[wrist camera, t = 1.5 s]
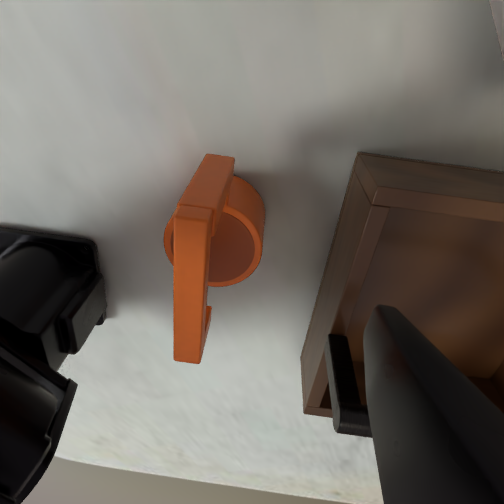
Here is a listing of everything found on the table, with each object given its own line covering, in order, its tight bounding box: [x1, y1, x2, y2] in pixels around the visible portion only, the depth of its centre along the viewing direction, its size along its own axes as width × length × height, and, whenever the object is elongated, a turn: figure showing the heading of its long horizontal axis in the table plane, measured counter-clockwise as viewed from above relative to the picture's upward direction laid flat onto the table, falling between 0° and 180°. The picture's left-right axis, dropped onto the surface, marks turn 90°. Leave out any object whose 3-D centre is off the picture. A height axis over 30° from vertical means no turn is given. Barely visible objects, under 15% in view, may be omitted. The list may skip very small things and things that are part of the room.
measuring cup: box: [164, 154, 265, 364], centre depth 15 cm, size 5×6×9 cm
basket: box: [300, 152, 504, 418], centre depth 19 cm, size 14×15×4 cm
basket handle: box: [324, 334, 373, 438], centre depth 16 cm, size 14×1×5 cm, turn 83°
